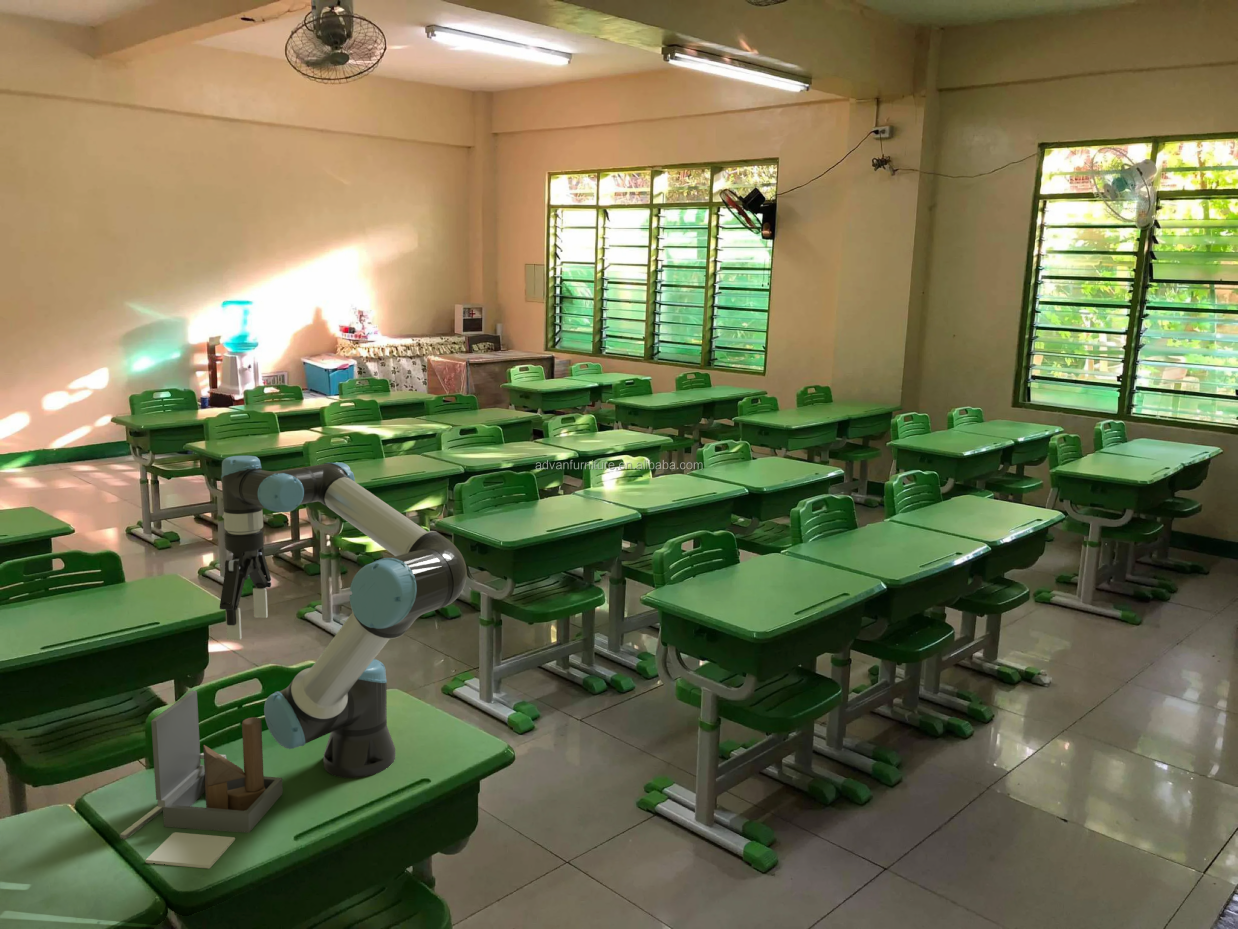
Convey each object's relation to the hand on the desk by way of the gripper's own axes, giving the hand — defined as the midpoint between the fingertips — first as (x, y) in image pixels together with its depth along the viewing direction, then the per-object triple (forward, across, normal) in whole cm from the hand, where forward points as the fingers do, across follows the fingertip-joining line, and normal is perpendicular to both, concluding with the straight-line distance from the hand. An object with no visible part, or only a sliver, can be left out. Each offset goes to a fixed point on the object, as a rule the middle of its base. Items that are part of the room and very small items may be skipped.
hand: (248, 627), depth 201 cm
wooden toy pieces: (+31, +19, +4) cm, 36 cm away
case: (+31, +19, +2) cm, 36 cm away
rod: (+31, +24, -11) cm, 41 cm away
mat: (+31, +33, +2) cm, 45 cm away
